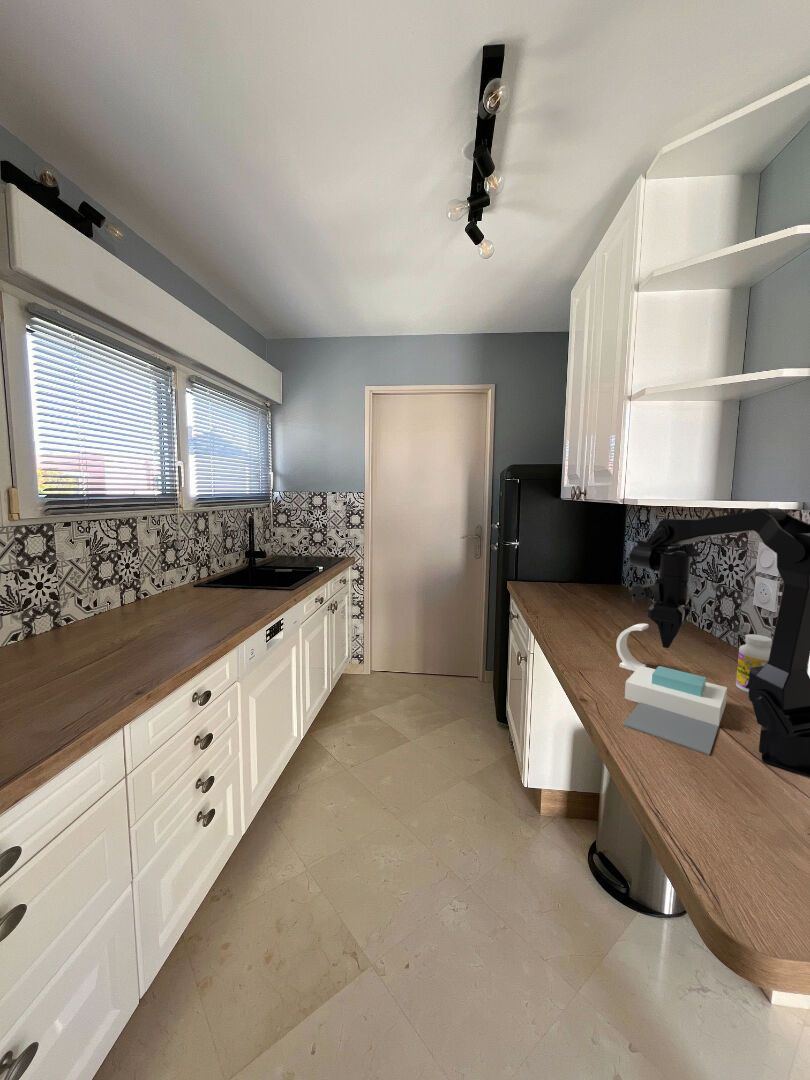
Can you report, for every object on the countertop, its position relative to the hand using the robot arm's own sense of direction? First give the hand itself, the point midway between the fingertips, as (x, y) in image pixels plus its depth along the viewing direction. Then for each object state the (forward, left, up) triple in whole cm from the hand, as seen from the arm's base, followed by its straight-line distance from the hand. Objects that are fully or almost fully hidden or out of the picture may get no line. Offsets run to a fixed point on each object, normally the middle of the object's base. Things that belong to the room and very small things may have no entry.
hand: (669, 642), depth 93 cm
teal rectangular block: (-3, +3, -8) cm, 9 cm away
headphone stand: (+10, -11, -13) cm, 20 cm away
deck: (-2, +3, -12) cm, 13 cm away
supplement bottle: (-15, -16, -13) cm, 25 cm away
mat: (-4, +15, -12) cm, 20 cm away
